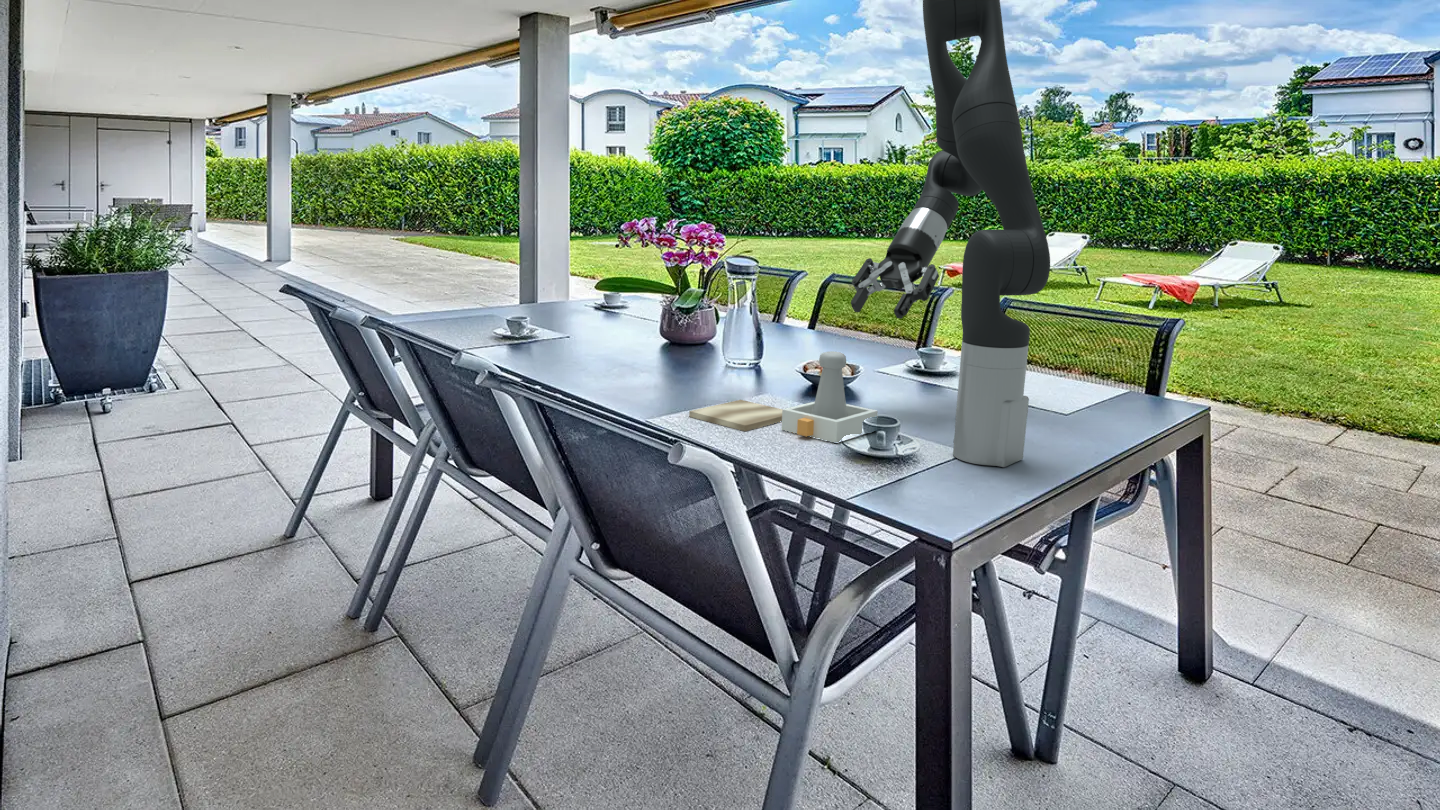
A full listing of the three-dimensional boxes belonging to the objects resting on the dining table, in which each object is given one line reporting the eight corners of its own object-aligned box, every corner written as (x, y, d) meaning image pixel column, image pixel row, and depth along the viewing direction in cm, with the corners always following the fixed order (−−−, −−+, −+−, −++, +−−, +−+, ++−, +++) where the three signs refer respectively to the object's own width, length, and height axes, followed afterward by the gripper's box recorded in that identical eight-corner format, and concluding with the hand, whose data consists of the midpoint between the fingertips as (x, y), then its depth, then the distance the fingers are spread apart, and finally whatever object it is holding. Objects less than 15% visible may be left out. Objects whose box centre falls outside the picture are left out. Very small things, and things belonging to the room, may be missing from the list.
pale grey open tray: (876, 431, 146) (877, 410, 145) (829, 445, 137) (830, 423, 136) (822, 419, 153) (823, 399, 152) (775, 431, 144) (775, 410, 143)
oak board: (796, 418, 153) (796, 412, 153) (745, 431, 144) (745, 425, 144) (740, 404, 162) (740, 399, 162) (689, 416, 153) (689, 411, 153)
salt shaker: (817, 436, 142) (820, 356, 139) (806, 427, 148) (810, 349, 145) (852, 434, 143) (856, 355, 140) (840, 425, 149) (844, 349, 146)
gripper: (875, 223, 157) (832, 293, 152) (947, 227, 148) (904, 302, 142) (890, 252, 162) (849, 321, 157) (960, 258, 153) (919, 332, 147)
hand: (875, 312), depth 150 cm, fingers open, 8 cm apart
